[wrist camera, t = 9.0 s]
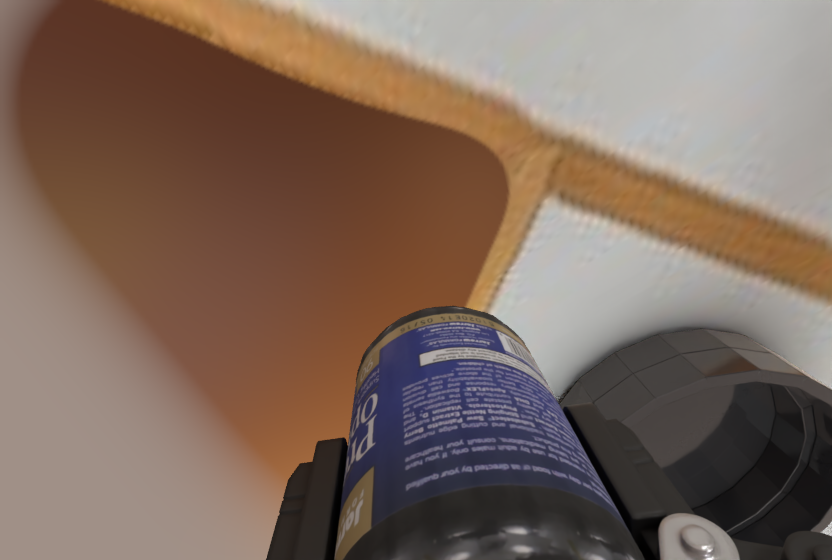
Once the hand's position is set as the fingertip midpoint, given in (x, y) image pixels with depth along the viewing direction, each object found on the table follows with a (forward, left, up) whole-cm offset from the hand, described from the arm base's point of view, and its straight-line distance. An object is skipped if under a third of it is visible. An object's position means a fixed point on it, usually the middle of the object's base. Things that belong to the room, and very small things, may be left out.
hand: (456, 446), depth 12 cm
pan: (+13, +14, -12) cm, 22 cm away
